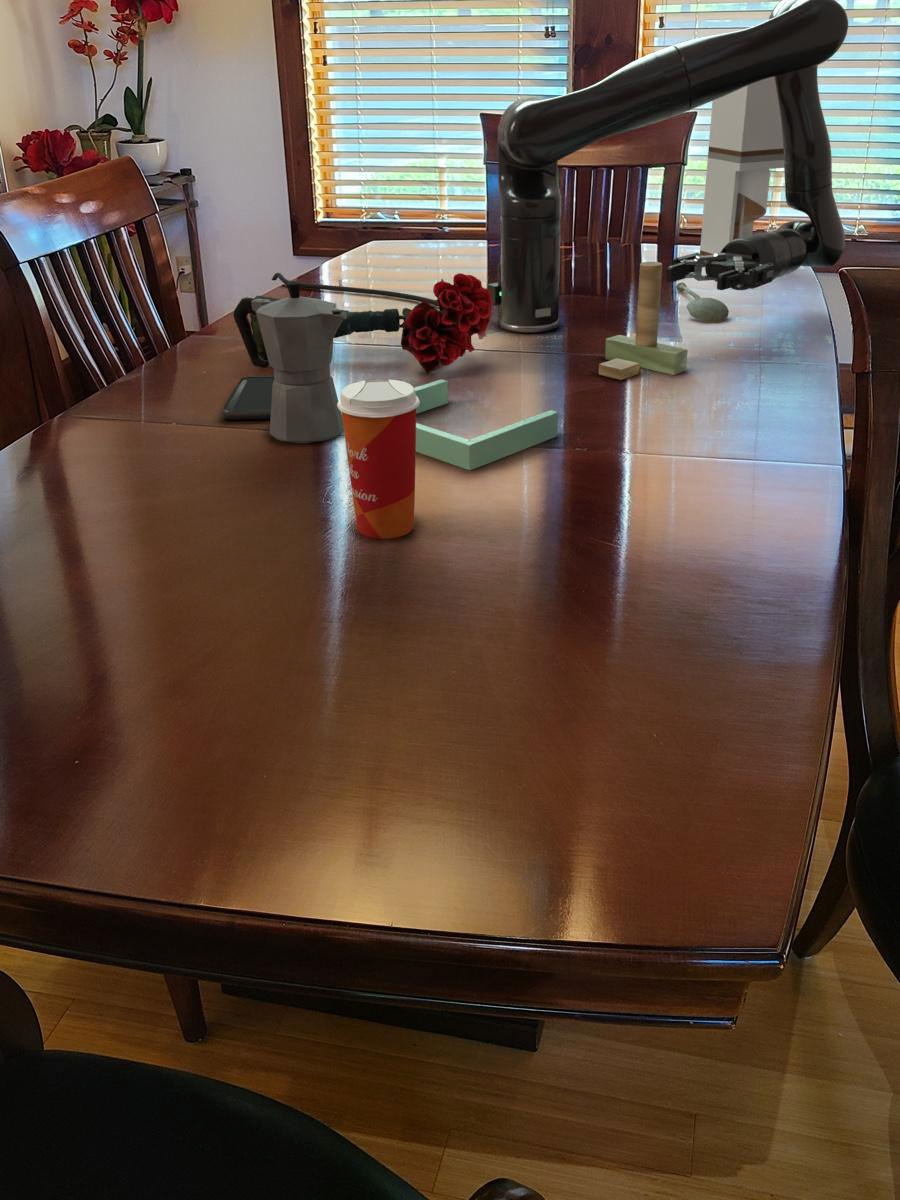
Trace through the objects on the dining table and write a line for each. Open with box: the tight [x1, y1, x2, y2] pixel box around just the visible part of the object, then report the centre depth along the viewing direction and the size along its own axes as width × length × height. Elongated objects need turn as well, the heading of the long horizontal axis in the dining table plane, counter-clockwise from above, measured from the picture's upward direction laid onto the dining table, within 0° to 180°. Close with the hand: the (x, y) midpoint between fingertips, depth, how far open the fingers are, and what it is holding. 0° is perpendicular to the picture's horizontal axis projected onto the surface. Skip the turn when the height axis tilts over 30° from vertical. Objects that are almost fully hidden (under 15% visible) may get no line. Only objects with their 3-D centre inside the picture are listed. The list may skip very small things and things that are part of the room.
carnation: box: [249, 272, 493, 373], centre depth 154 cm, size 16×18×35 cm
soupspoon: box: [675, 282, 730, 323], centre depth 182 cm, size 22×3×7 cm
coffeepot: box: [232, 280, 347, 444], centre depth 128 cm, size 15×9×18 cm, turn 65°
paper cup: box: [337, 379, 420, 540], centre depth 103 cm, size 8×8×14 cm
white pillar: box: [699, 77, 784, 256], centre depth 204 cm, size 11×11×35 cm
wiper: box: [604, 261, 689, 376], centre depth 150 cm, size 3×12×14 cm, turn 44°
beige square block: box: [598, 358, 640, 381], centre depth 149 cm, size 4×4×2 cm
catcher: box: [413, 378, 559, 471], centre depth 129 cm, size 15×20×3 cm
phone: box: [221, 375, 275, 421], centre depth 142 cm, size 8×1×15 cm
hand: (693, 278), depth 154 cm, fingers open, 8 cm apart
